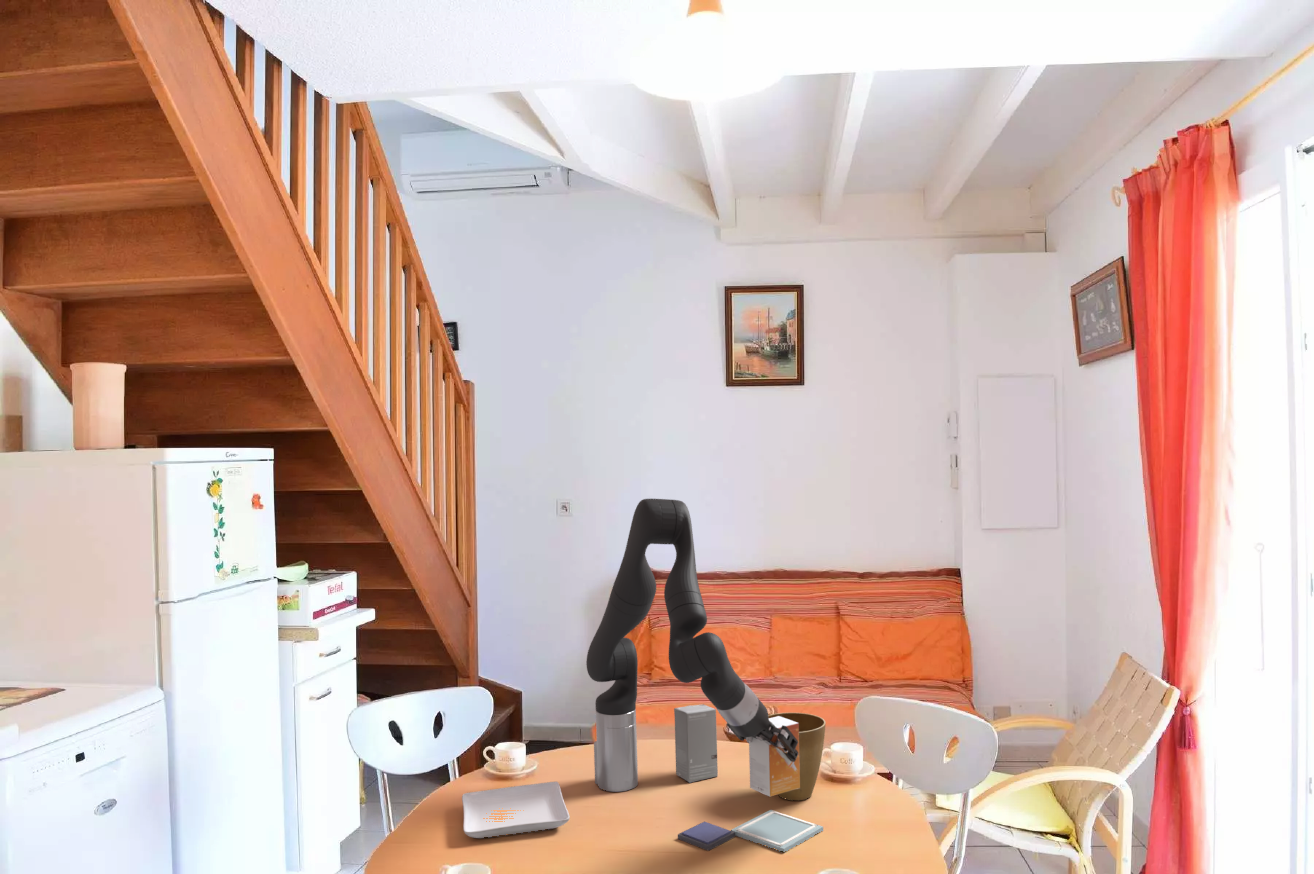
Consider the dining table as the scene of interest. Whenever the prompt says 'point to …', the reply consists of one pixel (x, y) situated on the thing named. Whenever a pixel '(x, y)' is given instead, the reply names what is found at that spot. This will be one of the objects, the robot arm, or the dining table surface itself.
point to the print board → (777, 830)
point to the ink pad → (706, 835)
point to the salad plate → (535, 799)
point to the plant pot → (806, 752)
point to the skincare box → (696, 742)
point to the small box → (774, 763)
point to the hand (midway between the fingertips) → (779, 753)
